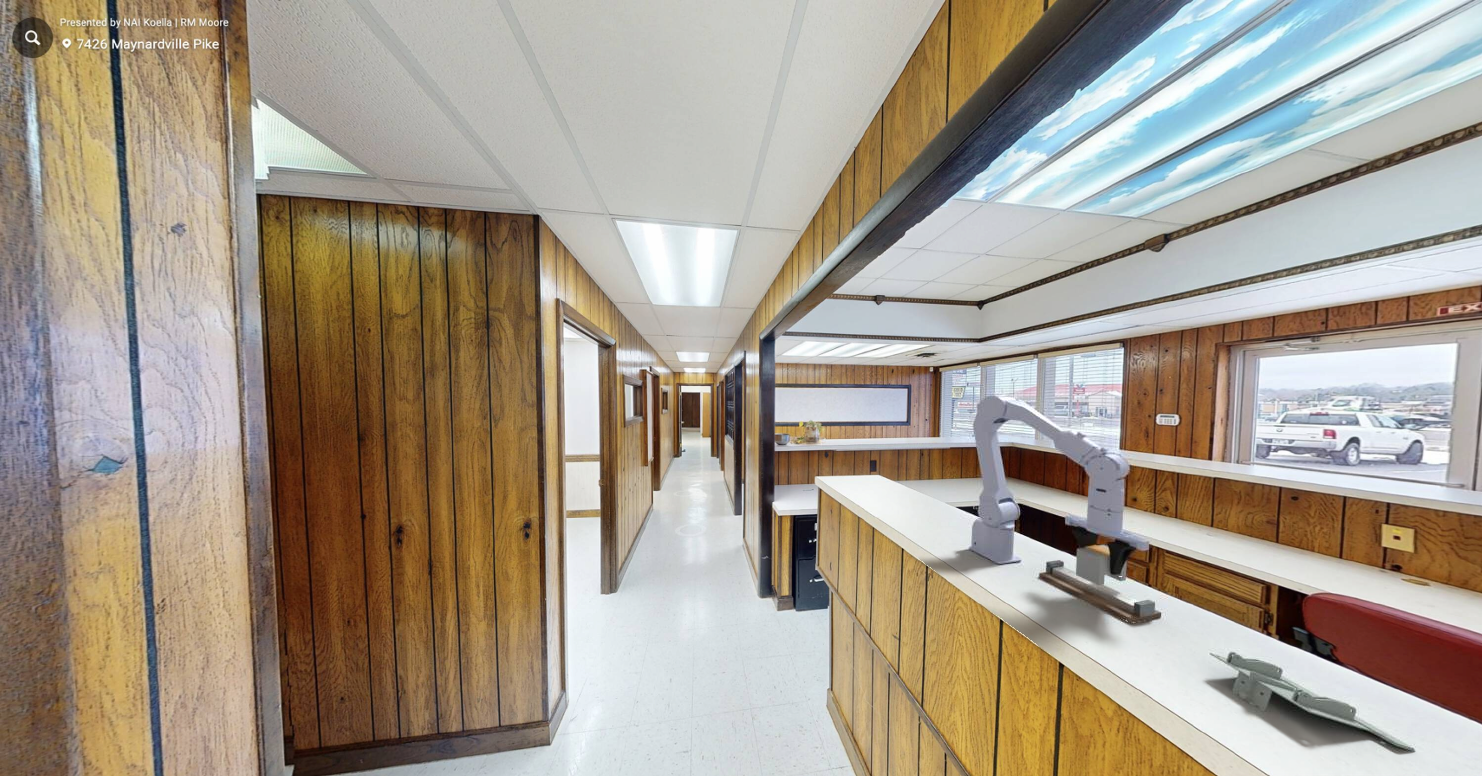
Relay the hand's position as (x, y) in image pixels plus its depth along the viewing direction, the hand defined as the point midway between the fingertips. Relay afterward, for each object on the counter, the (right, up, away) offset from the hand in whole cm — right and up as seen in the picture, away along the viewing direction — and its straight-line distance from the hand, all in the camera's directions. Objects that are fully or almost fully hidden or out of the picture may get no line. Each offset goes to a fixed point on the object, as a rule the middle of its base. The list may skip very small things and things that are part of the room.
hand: (1101, 568), depth 84 cm
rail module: (0, -2, 0) cm, 2 cm away
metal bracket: (+3, -8, -27) cm, 28 cm away
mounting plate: (0, -7, +1) cm, 7 cm away
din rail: (0, -7, +1) cm, 7 cm away
